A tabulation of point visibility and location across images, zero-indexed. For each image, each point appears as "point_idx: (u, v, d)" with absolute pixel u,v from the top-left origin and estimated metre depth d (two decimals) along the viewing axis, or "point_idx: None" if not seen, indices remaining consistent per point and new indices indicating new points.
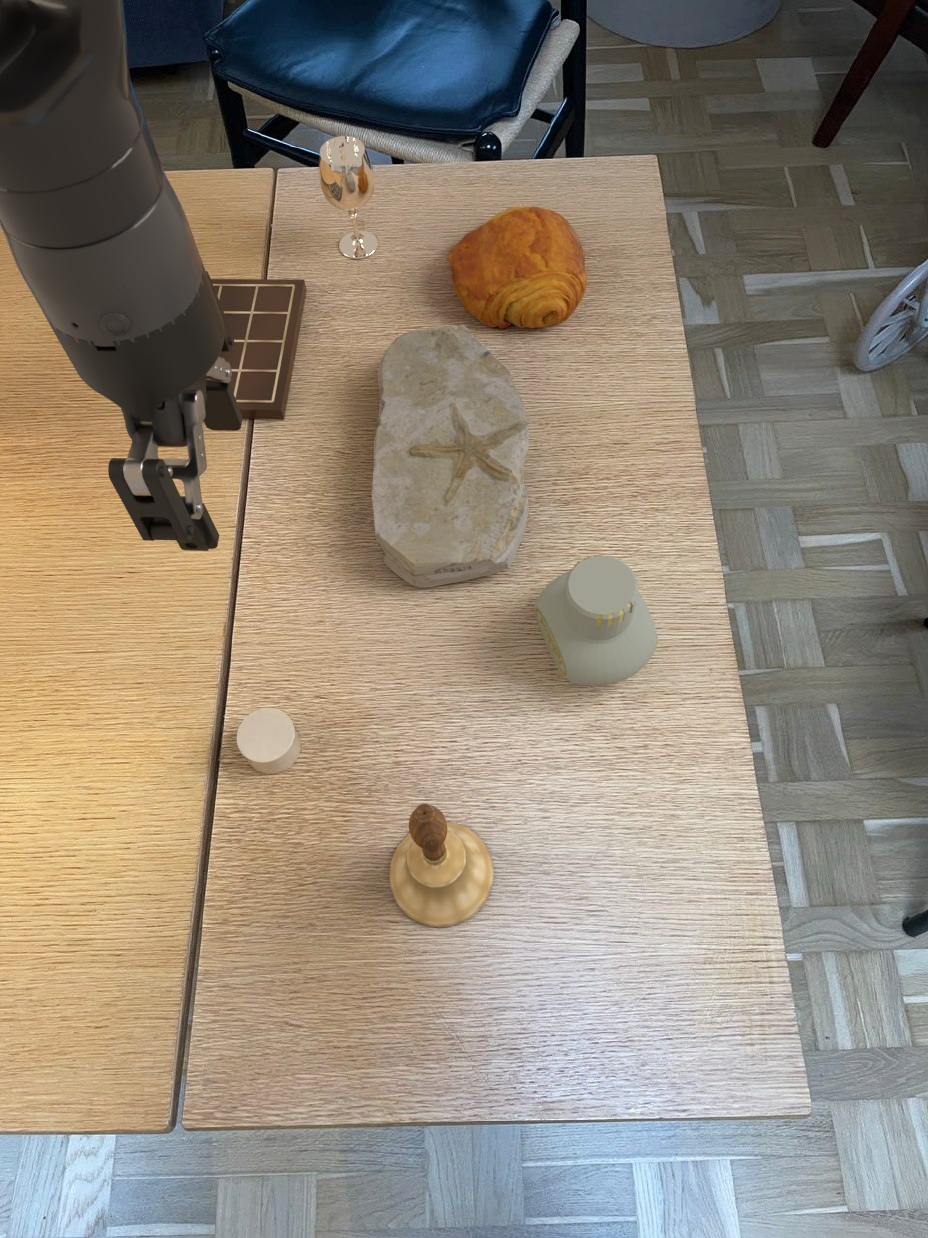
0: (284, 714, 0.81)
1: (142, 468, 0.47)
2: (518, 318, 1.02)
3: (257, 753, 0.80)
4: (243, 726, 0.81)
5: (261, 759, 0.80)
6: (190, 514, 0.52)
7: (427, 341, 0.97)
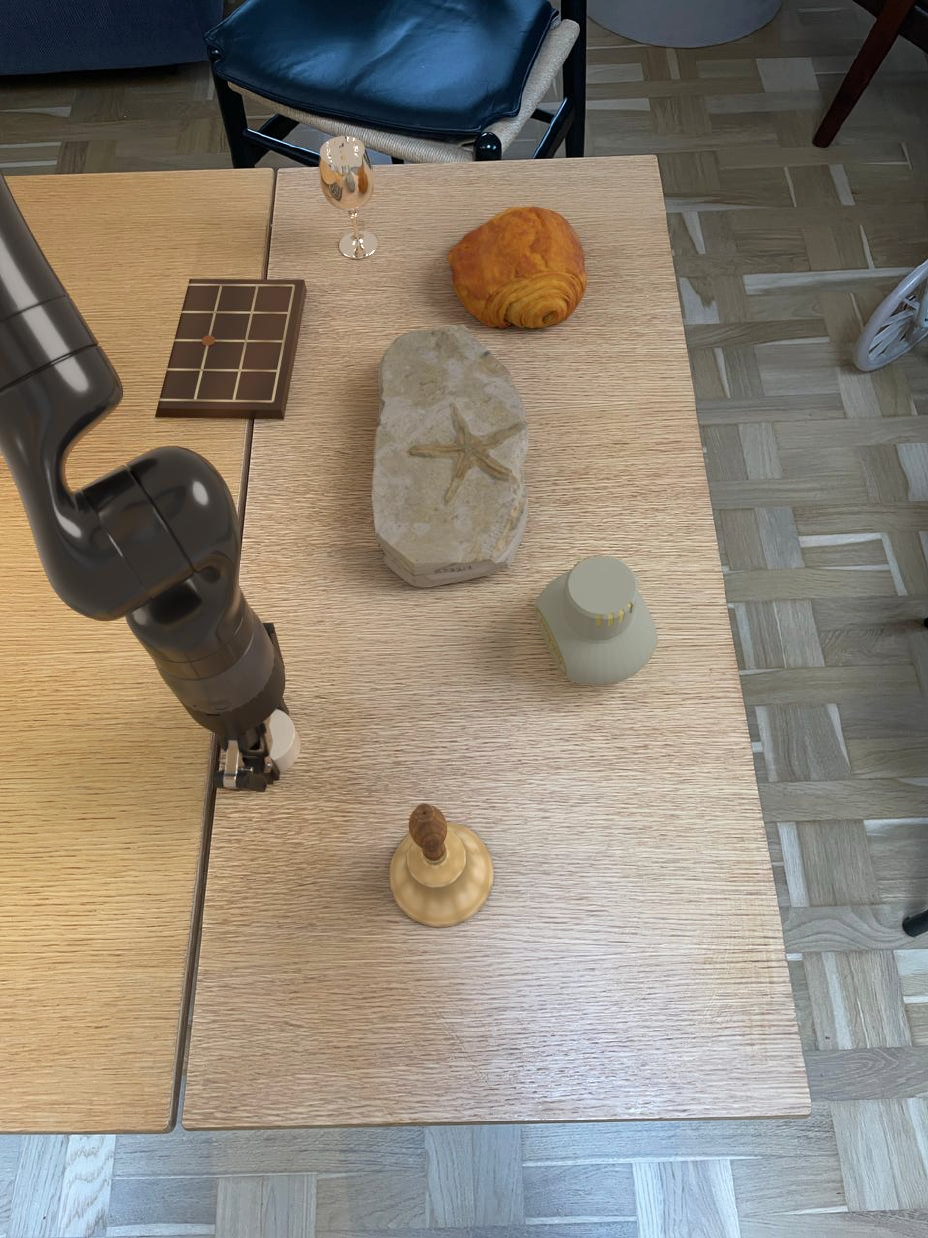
0: (284, 714, 0.81)
1: (235, 783, 0.71)
2: (518, 318, 1.02)
3: None
4: None
5: None
6: (264, 770, 0.77)
7: (427, 341, 0.97)
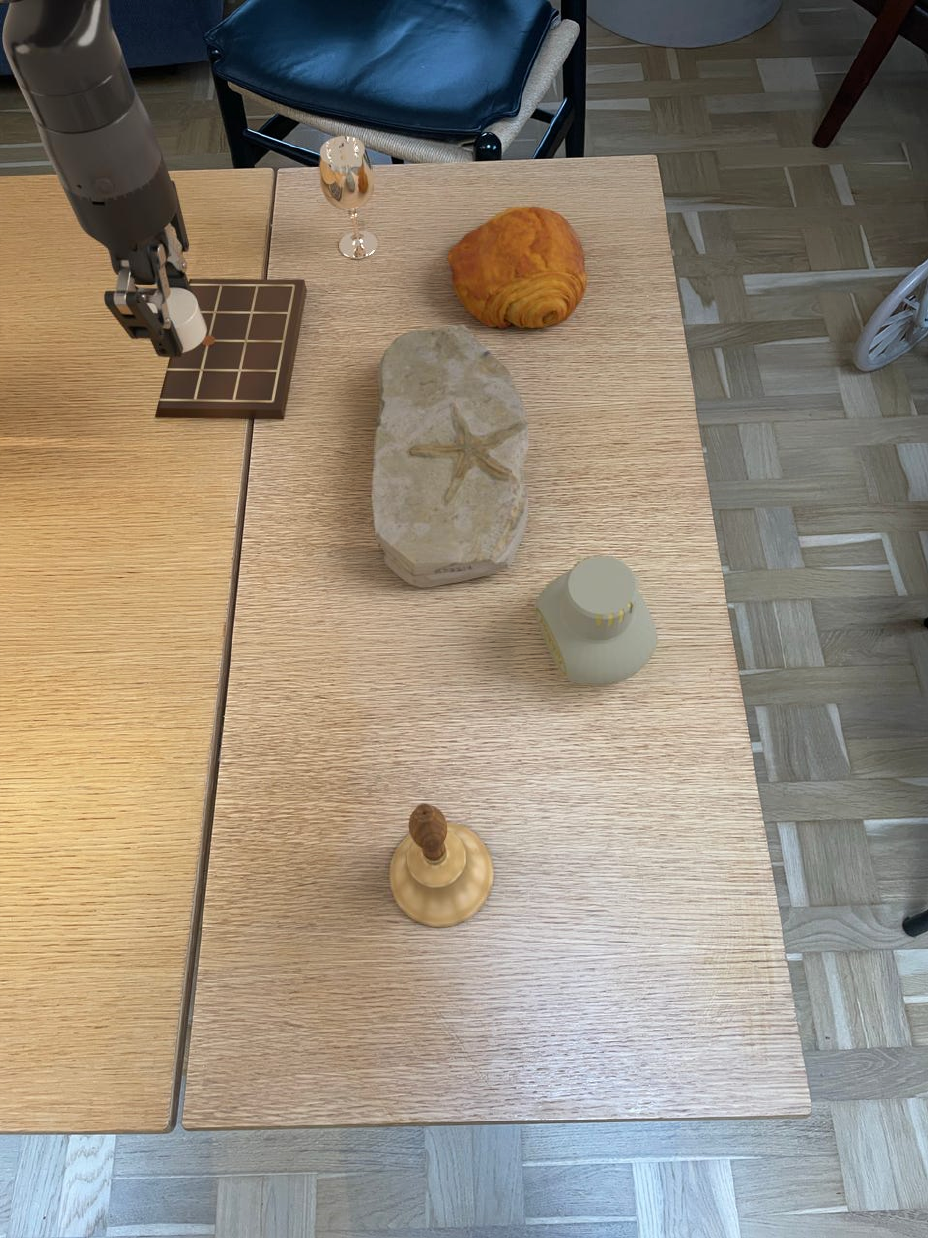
0: (189, 292, 0.84)
1: (125, 298, 0.74)
2: (518, 318, 1.02)
3: None
4: None
5: None
6: (162, 323, 0.80)
7: (427, 341, 0.97)
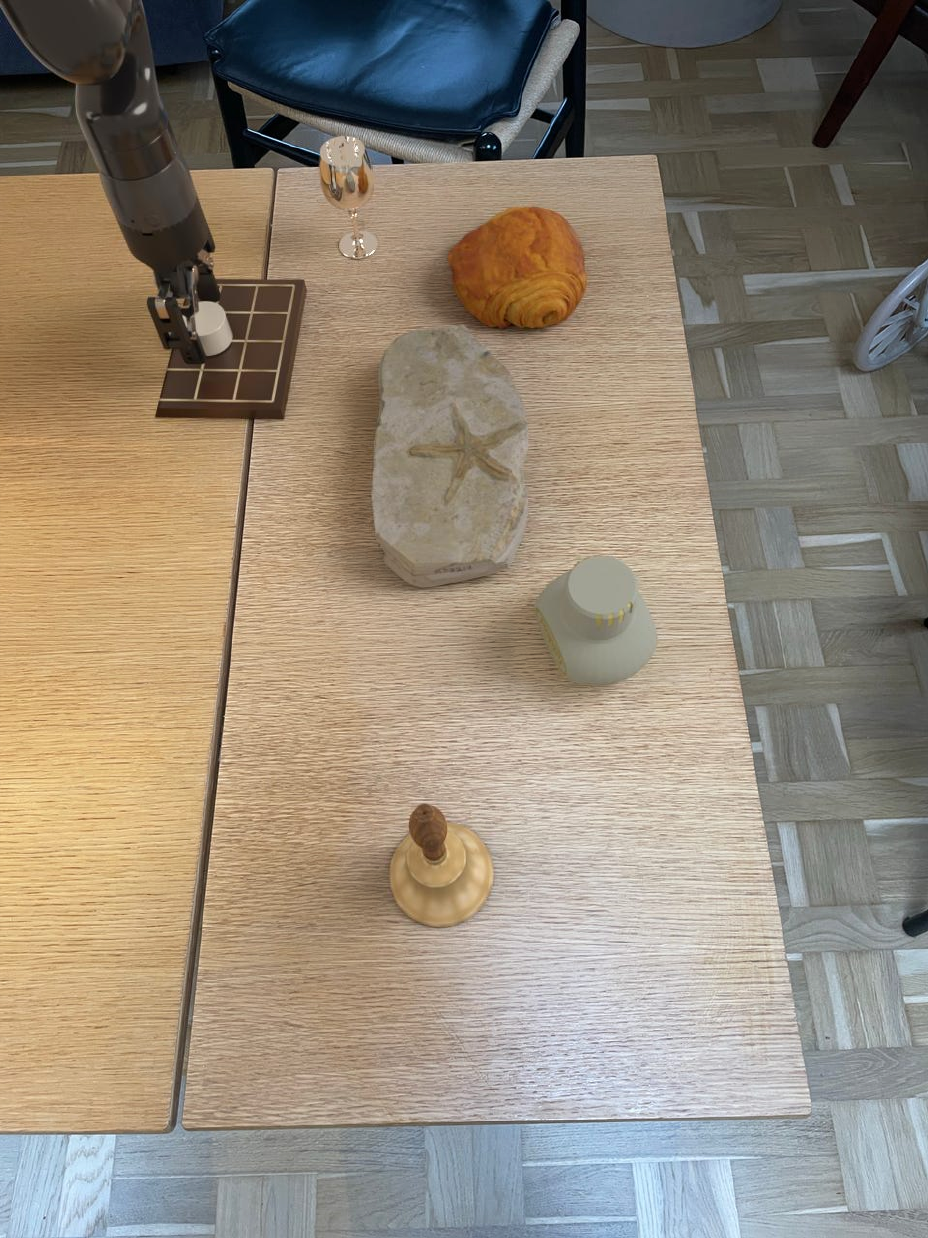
0: (217, 304, 1.01)
1: (164, 301, 0.89)
2: (518, 318, 1.02)
3: None
4: None
5: (198, 333, 0.99)
6: (189, 336, 0.95)
7: (427, 341, 0.97)
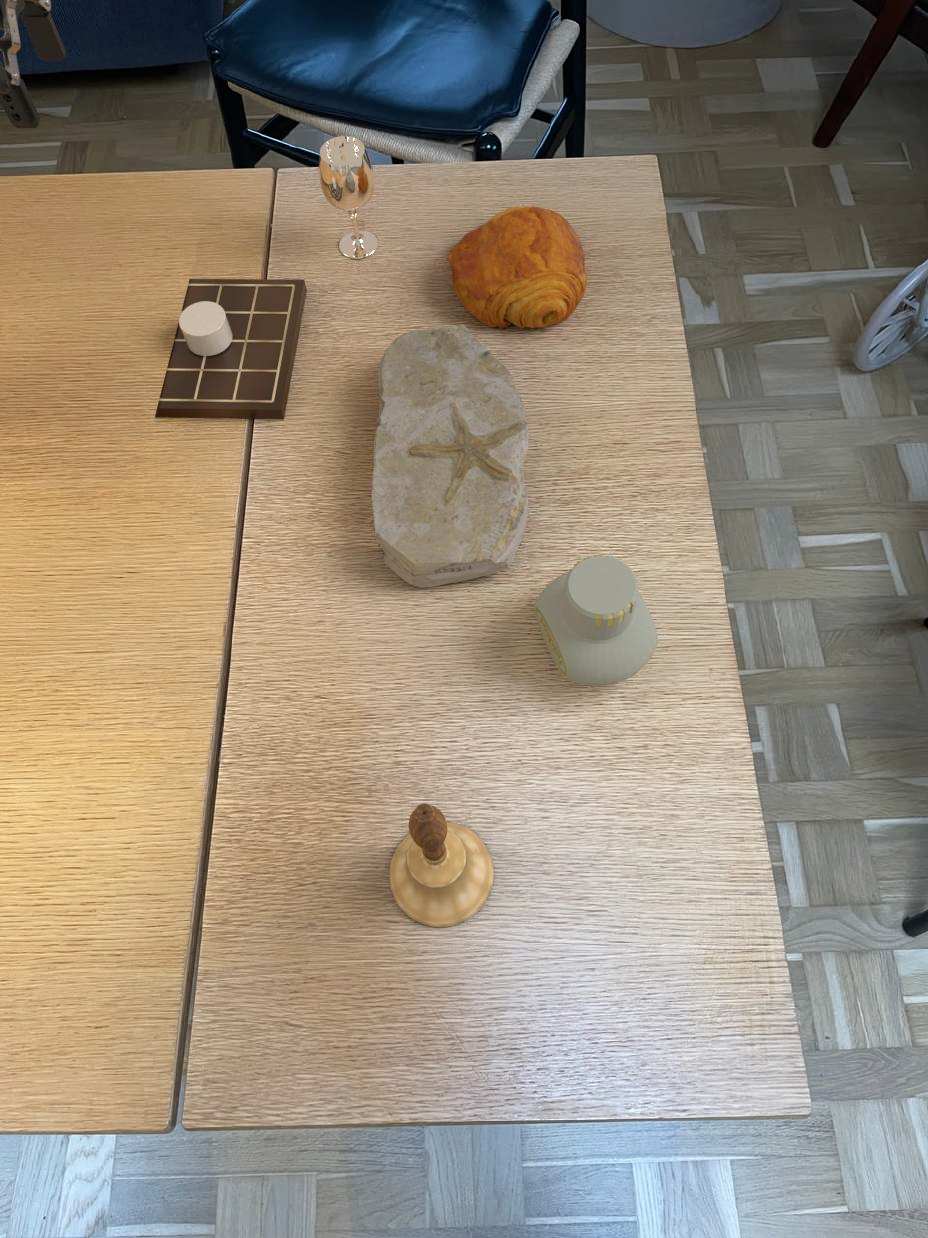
0: (217, 304, 1.01)
1: None
2: (518, 318, 1.02)
3: (195, 329, 1.00)
4: (184, 313, 1.01)
5: (198, 333, 0.99)
6: (9, 78, 0.74)
7: (427, 341, 0.97)
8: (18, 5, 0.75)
